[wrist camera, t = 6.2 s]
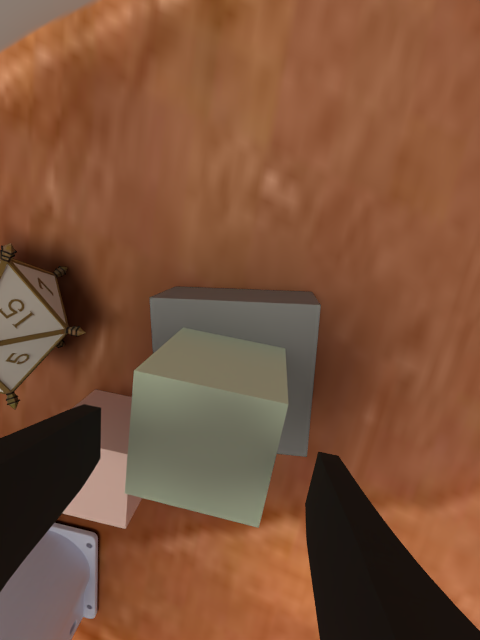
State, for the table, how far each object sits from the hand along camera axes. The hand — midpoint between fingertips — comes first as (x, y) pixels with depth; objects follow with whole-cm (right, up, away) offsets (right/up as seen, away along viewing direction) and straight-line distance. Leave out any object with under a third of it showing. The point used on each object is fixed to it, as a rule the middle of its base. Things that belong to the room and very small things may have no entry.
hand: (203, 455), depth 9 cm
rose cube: (-7, -3, +11) cm, 13 cm away
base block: (+1, +2, +9) cm, 9 cm away
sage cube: (0, +1, +5) cm, 5 cm away
